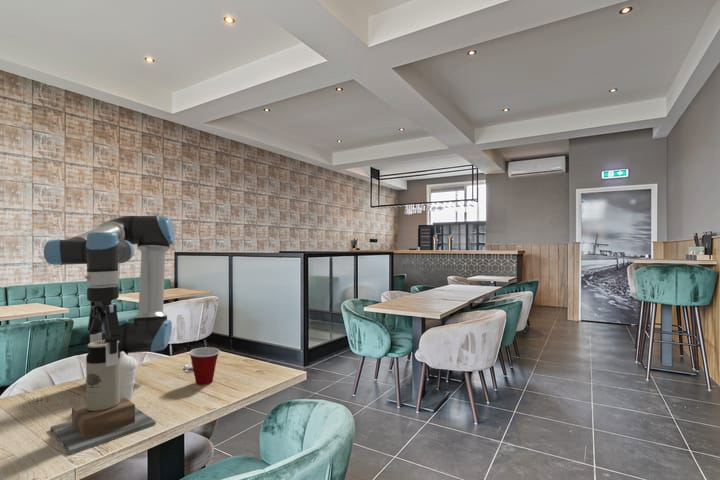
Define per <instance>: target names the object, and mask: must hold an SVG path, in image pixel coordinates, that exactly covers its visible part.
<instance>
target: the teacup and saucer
mask: <svg viewBox="0 0 720 480" xmlns="http://www.w3.org/2000/svg"><path fill="white" fill-rule="evenodd" d="M190 361H191V363H187V364H185V365H184V366H183V368H184V372H186V373H194V371H193V365H192V360H190ZM190 370H192V371H190Z"/></svg>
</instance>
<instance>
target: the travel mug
mask: <svg viewBox="0 0 720 480" xmlns="http://www.w3.org/2000/svg"><path fill="white" fill-rule="evenodd" d="M104 342H105V340H100V341H95V342H92V343H90V342H89V343H88V344H87V347H88V350H89V352H88V353H87V355H86V356H85V357H86V359H85V361H86V362H85V363H86V366H85V368H86V370H85V371H86V372H85V373H86V374H85V375H86V379H85V388H86V391H85V392H86V396H85V397H86V398H85V399H86V403H85V404H86V409H87V410H90V411H101V410H106V409H109V408H112V407H114V406H116V405H117V404H119V403H120V351H119V349H118V364H116V365H112V366H106V343H104ZM118 343H119V340H118Z"/></svg>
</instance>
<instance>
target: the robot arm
mask: <svg viewBox="0 0 720 480" xmlns="http://www.w3.org/2000/svg"><path fill="white" fill-rule="evenodd" d="M175 240H176V235H175V229H174V224H173V221H172V220H171V218H170V217H169V216H165V215H125V216H121V217H120V216H119V217H116V218H113V219H110V220H107V221H104V222H102V223H101V224H100V225H99V226H98V227H95V228H94V229H91V230H88V231H86V232H83V233H80V234H78V235H76V236H73V237H71V238H67V239H60V238H59V239H51V240H48V241H47V242H46V243H45V245H44V248H43V257H44V260H45V262H46V263H47V264H49V265H57V266H58V265H59V266H63V265H64V266H65V265H67V266H69V265H86V275H85V276H84V279H85V280H86V285H87V286H88V287H87V289H86V300H87V302H90V311H89V317H88V324H87V331H88V332H89V334H90V335H89V337H90V338H89V339H90V340H89V343H92V342H95V341H100V340H105V342H104V343H106V366H112V365H116V364H118V349H119V351H120V352H122V351H123V352H124V353H125V354H126V355H128V356H129V354H132V353H134V354H135V353H147V352H151V353H152V352H159V351H163V350H165V349H166V348H167V347H168V345H169V342H170V340H171V336H172V329H173V325H172V324H173V323H172V320H171V319H168V314H166V313H165V312H164V300H165V299H164V295H165V292H164V291H165V274H166V273H165V272H166V271H165V269H166V253H167V252H168V251H169V250H170V246H171V245H173V244H175ZM133 245H137V247H136V249H137V250H139V251H140V254H141V256H140V277H139V294H138V295H139V296H138V313H137V314H136V315H134V316H133V321H129V319H128V318H126V317H124V318H123V317H121V318H118V309H117V306H118V305H117V304H112V301H113V300H117V299H119V293H120V290H119V289H120V288H119V286H118V284H120V277H119V276H120V275H119V273H120V271H119V264H124V263H127V262H128V261H130V260H131V259H132V258H133V256H134V254H135V249H134V246H133ZM118 340H119V343H118Z"/></svg>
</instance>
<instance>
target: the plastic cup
mask: <svg viewBox="0 0 720 480" xmlns="http://www.w3.org/2000/svg"><path fill="white" fill-rule="evenodd" d="M220 353H221V350H220V349H218V348H215V347H198V348H194V349H191V350H190V351H189V356H190V359H191V360H190V361H192V363H191V364H192V365H193V369H192V372H193V371H194V372H193V375H194V380H195V384H196V385H197V386H207V385H210V384H211V383H213V381H214V375H215V371H216V364H217V359H218V356H219V354H220Z"/></svg>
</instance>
